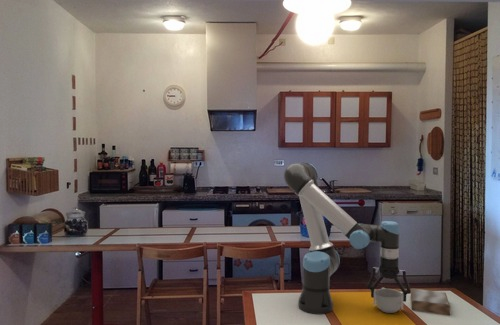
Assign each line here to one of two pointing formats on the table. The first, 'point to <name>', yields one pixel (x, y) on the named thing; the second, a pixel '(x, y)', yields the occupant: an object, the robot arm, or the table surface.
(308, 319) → the table surface
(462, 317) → the table surface
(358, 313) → the table surface
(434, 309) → the walnut riser
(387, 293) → the teacup
